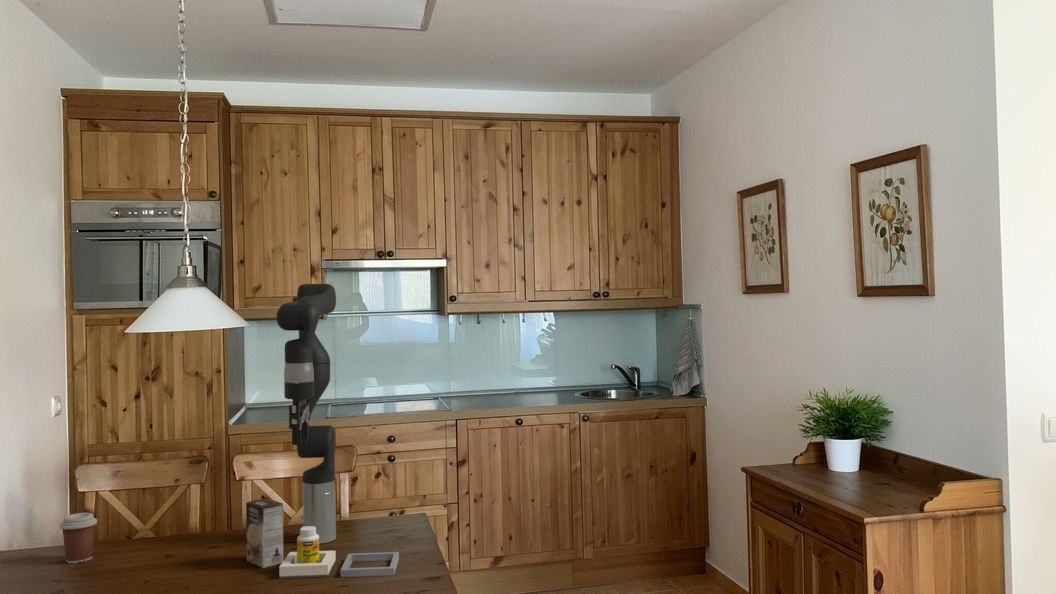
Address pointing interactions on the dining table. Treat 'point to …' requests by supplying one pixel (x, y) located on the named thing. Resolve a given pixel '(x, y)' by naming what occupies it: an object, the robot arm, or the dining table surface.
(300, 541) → the supplement bottle
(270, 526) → the coffee box
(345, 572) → the tray
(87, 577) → the dining table surface
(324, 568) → the holder
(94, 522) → the coffee cup
